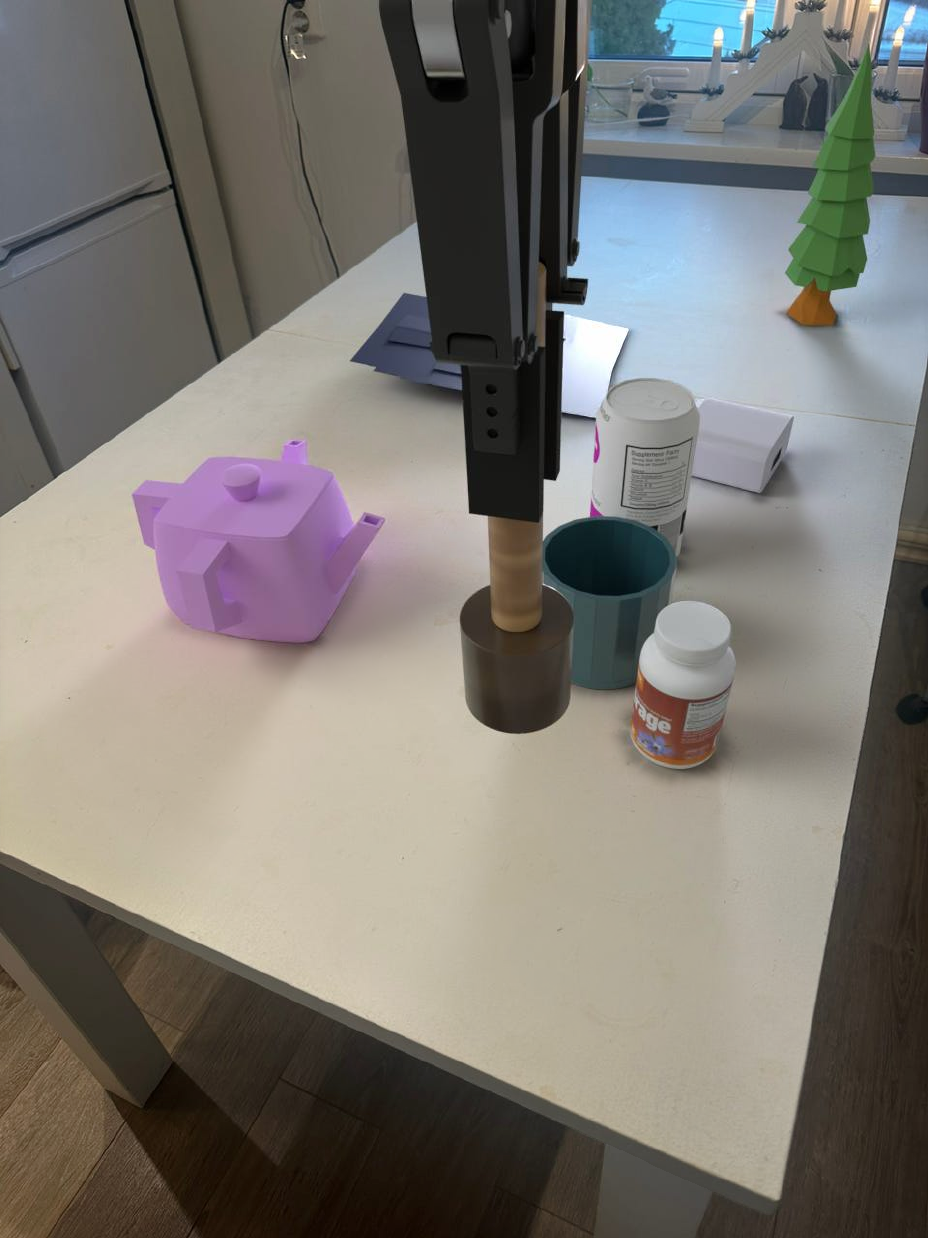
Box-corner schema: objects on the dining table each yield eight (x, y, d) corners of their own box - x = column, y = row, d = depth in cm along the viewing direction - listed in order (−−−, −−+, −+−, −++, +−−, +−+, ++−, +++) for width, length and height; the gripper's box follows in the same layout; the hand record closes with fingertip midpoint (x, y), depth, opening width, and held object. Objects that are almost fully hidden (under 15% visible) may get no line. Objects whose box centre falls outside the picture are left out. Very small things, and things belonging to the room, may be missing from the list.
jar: (683, 676, 67) (699, 585, 61) (558, 700, 66) (561, 611, 60) (636, 594, 74) (646, 507, 68) (523, 615, 73) (523, 527, 67)
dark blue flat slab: (407, 306, 119) (408, 280, 117) (624, 347, 115) (630, 321, 112) (344, 390, 102) (343, 361, 99) (597, 441, 98) (602, 412, 95)
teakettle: (149, 575, 79) (106, 457, 71) (321, 514, 85) (299, 399, 77) (208, 690, 68) (165, 566, 60) (401, 611, 74) (386, 488, 66)
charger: (649, 420, 96) (786, 453, 90) (614, 460, 90) (758, 498, 84) (653, 380, 93) (796, 411, 87) (617, 419, 87) (767, 455, 81)
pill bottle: (614, 719, 64) (626, 605, 57) (689, 697, 65) (710, 583, 58) (655, 783, 60) (674, 669, 52) (734, 757, 61) (763, 642, 54)
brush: (584, 721, 40) (612, 286, 27) (479, 744, 39) (453, 309, 26) (552, 649, 44) (562, 234, 30) (455, 668, 43) (421, 253, 30)
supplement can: (571, 558, 78) (579, 407, 68) (614, 513, 83) (627, 365, 73) (655, 589, 75) (675, 434, 65) (694, 539, 80) (719, 388, 70)
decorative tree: (806, 297, 118) (864, 33, 98) (869, 316, 113) (944, 42, 93) (762, 318, 114) (814, 47, 94) (827, 340, 108) (896, 57, 88)
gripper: (444, -379, 24) (477, 391, 40) (148, -530, 14) (351, 601, 29) (719, -416, 23) (641, 407, 38) (625, -623, 12) (570, 637, 28)
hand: (515, 490), depth 34 cm, fingers closed on brush, 2 cm apart
